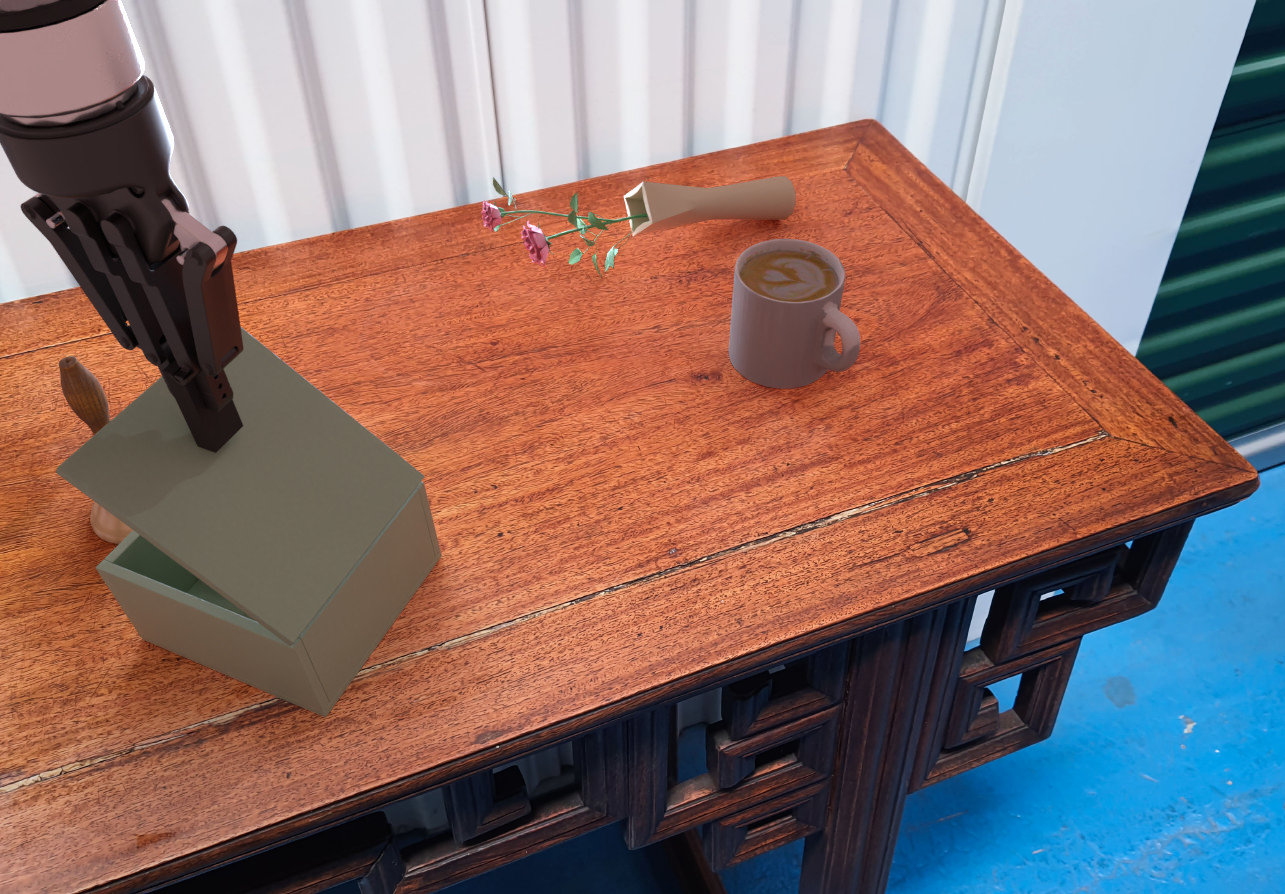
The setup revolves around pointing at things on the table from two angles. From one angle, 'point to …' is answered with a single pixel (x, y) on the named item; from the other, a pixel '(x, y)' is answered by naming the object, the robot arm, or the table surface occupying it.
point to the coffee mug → (789, 314)
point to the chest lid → (251, 489)
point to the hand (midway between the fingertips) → (220, 435)
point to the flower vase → (659, 211)
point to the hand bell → (94, 412)
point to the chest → (245, 650)
